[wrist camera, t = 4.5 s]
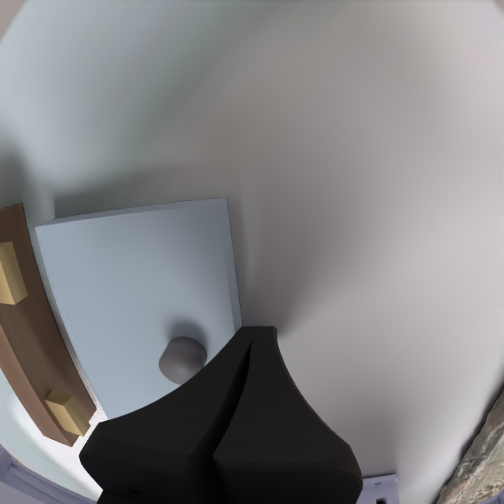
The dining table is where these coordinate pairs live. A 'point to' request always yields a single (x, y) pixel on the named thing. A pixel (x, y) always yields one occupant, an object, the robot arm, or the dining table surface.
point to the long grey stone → (480, 464)
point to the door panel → (143, 295)
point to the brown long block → (36, 341)
